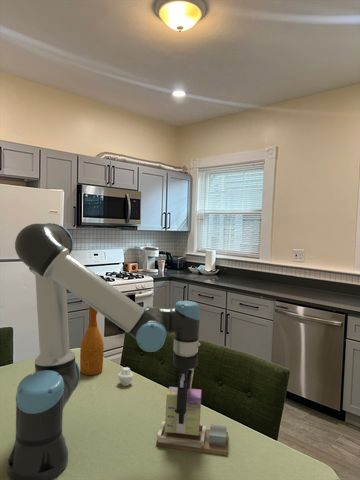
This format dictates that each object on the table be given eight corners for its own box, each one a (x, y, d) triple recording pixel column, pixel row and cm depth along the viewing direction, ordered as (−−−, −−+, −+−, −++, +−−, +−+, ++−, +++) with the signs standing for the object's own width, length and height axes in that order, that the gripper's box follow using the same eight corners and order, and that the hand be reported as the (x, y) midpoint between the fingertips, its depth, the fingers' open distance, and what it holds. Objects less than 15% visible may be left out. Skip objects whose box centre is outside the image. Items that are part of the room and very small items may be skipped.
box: (199, 425, 113) (201, 388, 112) (199, 436, 107) (200, 397, 107) (167, 422, 114) (168, 385, 113) (164, 432, 108) (166, 394, 108)
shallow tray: (227, 455, 104) (227, 441, 104) (156, 445, 107) (156, 432, 107) (227, 435, 114) (228, 422, 113) (162, 427, 117) (163, 414, 117)
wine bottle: (107, 370, 159) (109, 303, 157) (91, 378, 150) (93, 307, 149) (91, 365, 164) (93, 300, 163) (74, 372, 156) (77, 303, 154)
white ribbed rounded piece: (130, 388, 143) (131, 371, 143) (115, 386, 144) (116, 369, 144) (134, 381, 149) (135, 365, 149) (120, 380, 150) (121, 363, 150)
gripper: (194, 365, 100) (190, 446, 101) (200, 343, 118) (197, 412, 119) (168, 362, 101) (164, 443, 102) (178, 341, 119) (175, 409, 120)
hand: (182, 426), depth 111 cm, fingers closed on box, 6 cm apart
